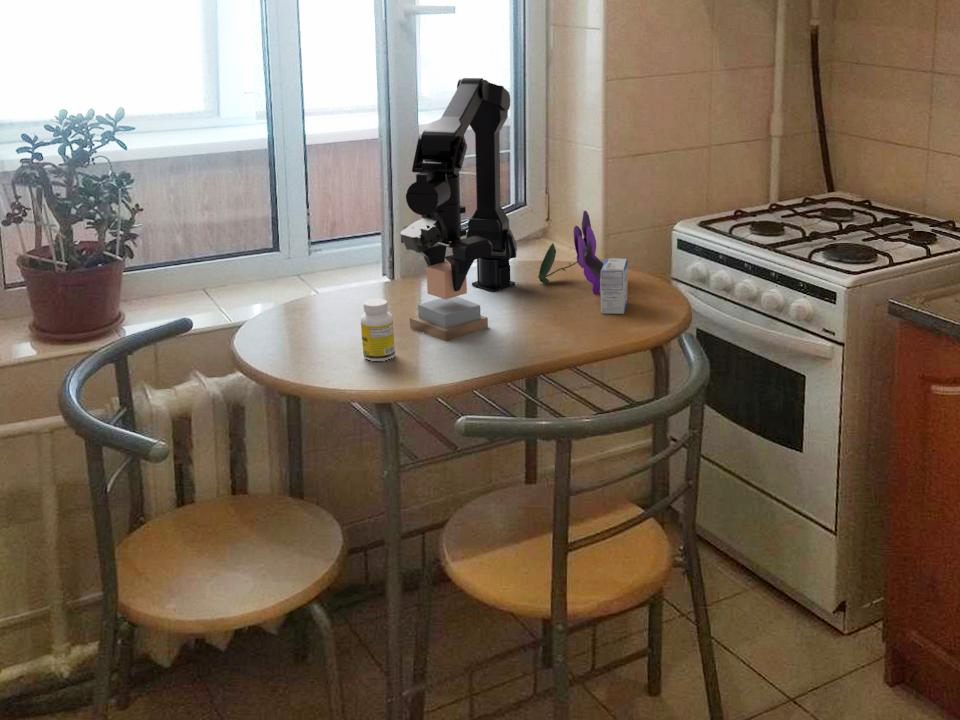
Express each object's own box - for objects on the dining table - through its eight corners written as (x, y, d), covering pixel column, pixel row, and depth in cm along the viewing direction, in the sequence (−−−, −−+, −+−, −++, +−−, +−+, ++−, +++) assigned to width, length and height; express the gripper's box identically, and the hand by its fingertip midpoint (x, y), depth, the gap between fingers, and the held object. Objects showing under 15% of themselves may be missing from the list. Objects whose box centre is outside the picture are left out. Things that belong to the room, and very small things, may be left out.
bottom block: (410, 331, 203) (409, 318, 202) (452, 318, 209) (451, 305, 208) (445, 344, 196) (445, 330, 195) (488, 330, 202) (487, 317, 201)
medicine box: (624, 315, 206) (625, 269, 203) (600, 314, 207) (600, 269, 204) (627, 302, 214) (628, 258, 211) (604, 301, 215) (604, 257, 211)
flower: (545, 320, 221) (605, 294, 215) (510, 253, 218) (570, 224, 212) (563, 298, 234) (620, 272, 228) (530, 234, 231) (587, 207, 225)
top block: (418, 317, 202) (417, 304, 201) (453, 308, 207) (453, 295, 206) (444, 328, 196) (444, 315, 196) (480, 318, 201) (480, 305, 200)
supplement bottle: (363, 352, 192) (359, 297, 188) (395, 350, 192) (391, 296, 188) (363, 363, 186) (359, 307, 183) (395, 361, 187) (392, 306, 183)
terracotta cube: (427, 293, 200) (426, 266, 199) (448, 287, 203) (447, 261, 202) (445, 299, 197) (444, 272, 195) (466, 293, 200) (466, 266, 198)
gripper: (374, 201, 196) (379, 286, 201) (443, 218, 183) (446, 309, 188) (423, 191, 203) (427, 273, 208) (493, 207, 190) (495, 294, 195)
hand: (447, 287), depth 200 cm, fingers closed on terracotta cube, 5 cm apart
